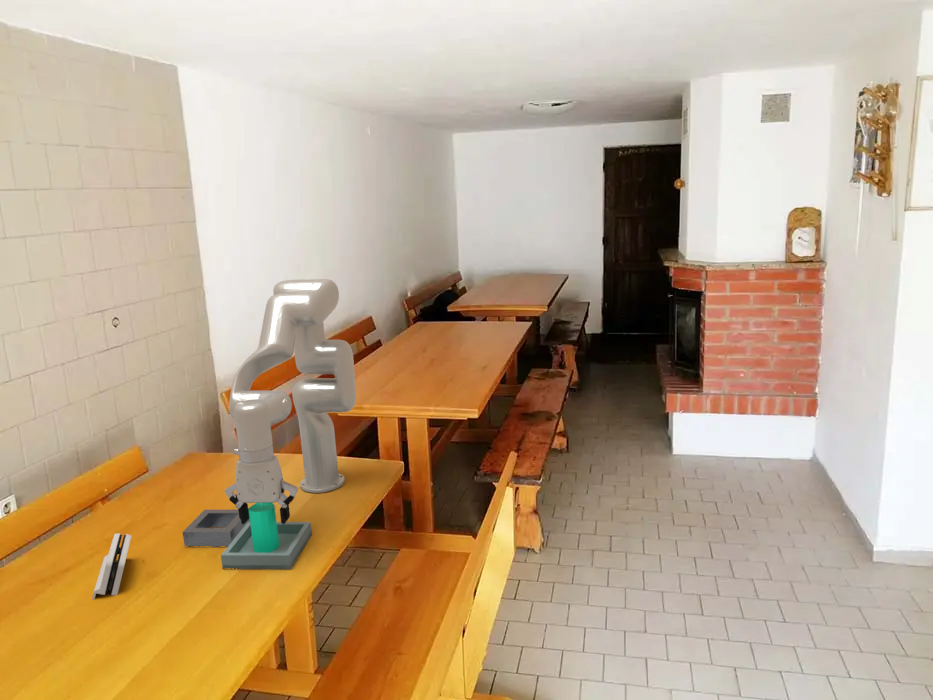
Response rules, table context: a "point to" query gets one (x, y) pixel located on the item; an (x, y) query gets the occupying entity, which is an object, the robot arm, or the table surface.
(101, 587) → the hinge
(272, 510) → the candle
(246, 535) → the tray
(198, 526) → the holder
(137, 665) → the table surface
